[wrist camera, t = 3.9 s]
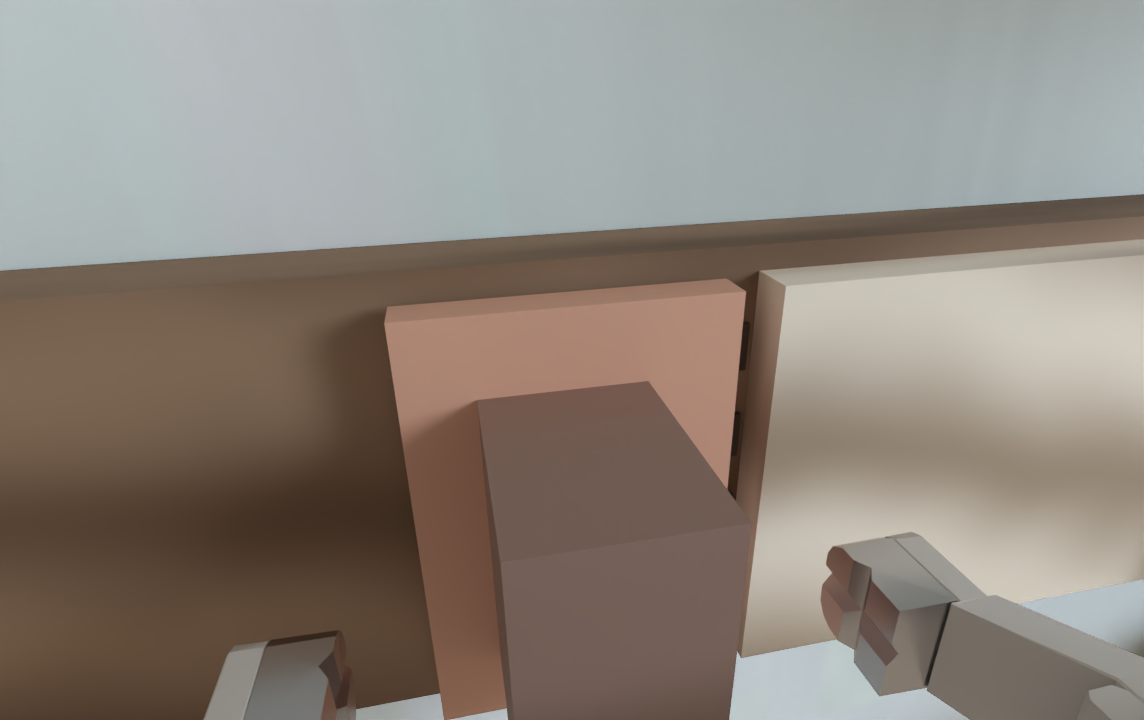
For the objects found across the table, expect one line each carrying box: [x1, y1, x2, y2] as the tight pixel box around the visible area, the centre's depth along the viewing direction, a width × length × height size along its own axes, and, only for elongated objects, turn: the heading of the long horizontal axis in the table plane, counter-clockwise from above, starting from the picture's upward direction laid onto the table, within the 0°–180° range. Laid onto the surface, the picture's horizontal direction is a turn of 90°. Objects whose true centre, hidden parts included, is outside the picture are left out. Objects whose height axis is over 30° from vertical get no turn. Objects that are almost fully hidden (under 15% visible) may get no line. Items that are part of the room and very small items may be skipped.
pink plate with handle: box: [384, 278, 752, 720], centre depth 11 cm, size 9×6×5 cm, turn 1°
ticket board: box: [0, 195, 1144, 720], centre depth 13 cm, size 10×38×5 cm, turn 91°
